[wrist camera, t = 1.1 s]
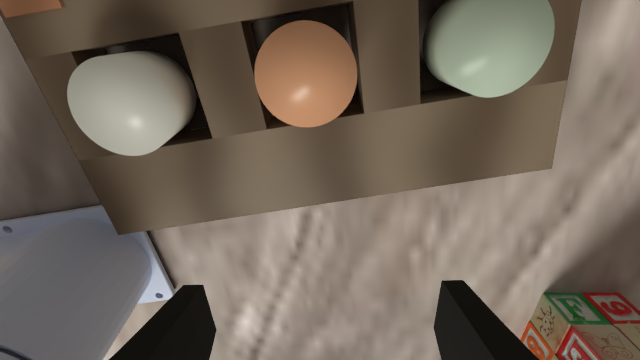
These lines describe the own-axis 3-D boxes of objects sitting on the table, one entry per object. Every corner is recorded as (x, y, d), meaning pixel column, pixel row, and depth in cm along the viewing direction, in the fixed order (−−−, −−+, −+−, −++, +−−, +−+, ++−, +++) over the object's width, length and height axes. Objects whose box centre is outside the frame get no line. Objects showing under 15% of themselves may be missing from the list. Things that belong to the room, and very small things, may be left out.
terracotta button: (274, 116, 16) (267, 134, 13) (254, 29, 14) (242, 30, 12) (353, 103, 16) (362, 119, 13) (342, 13, 14) (351, 11, 11)
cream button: (131, 140, 16) (96, 162, 14) (94, 58, 15) (46, 65, 12) (206, 127, 16) (186, 147, 14) (179, 42, 14) (149, 47, 12)
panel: (139, 211, 20) (116, 237, 18) (11, -56, 14) (-51, -72, 12) (523, 151, 19) (554, 170, 17) (564, -164, 13) (622, -207, 11)
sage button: (423, 91, 16) (446, 104, 13) (421, -1, 14) (448, -7, 11) (505, 77, 16) (545, 88, 13) (513, -17, 14) (563, -27, 11)
